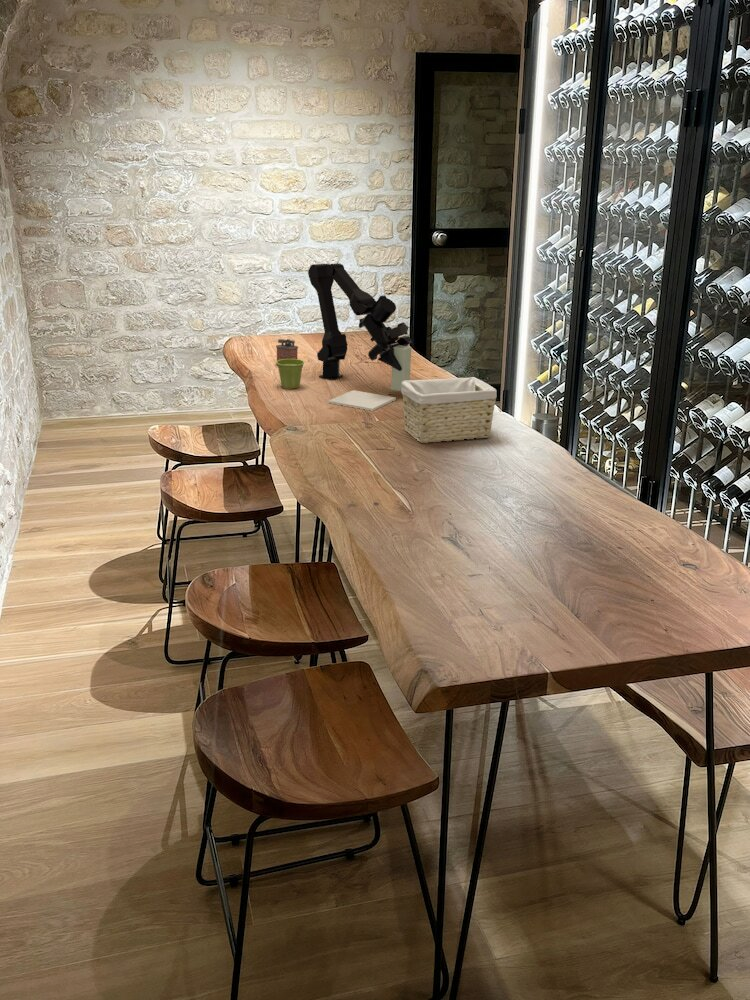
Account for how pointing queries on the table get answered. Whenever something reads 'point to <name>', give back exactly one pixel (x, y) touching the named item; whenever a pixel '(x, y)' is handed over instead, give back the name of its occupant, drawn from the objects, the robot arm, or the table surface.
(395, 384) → the block
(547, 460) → the table surface
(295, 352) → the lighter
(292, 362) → the plant pot
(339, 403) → the tile
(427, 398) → the storage basket
